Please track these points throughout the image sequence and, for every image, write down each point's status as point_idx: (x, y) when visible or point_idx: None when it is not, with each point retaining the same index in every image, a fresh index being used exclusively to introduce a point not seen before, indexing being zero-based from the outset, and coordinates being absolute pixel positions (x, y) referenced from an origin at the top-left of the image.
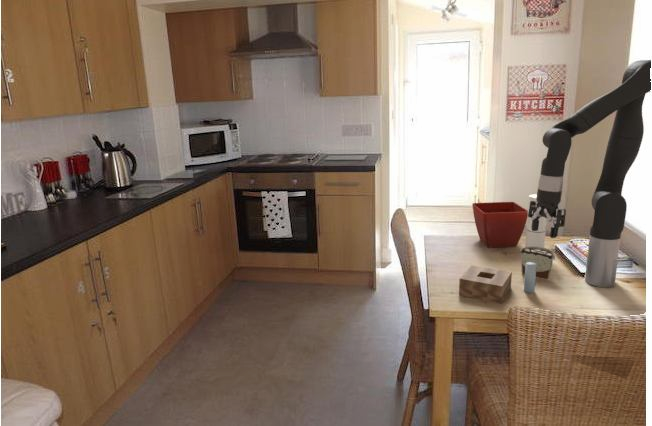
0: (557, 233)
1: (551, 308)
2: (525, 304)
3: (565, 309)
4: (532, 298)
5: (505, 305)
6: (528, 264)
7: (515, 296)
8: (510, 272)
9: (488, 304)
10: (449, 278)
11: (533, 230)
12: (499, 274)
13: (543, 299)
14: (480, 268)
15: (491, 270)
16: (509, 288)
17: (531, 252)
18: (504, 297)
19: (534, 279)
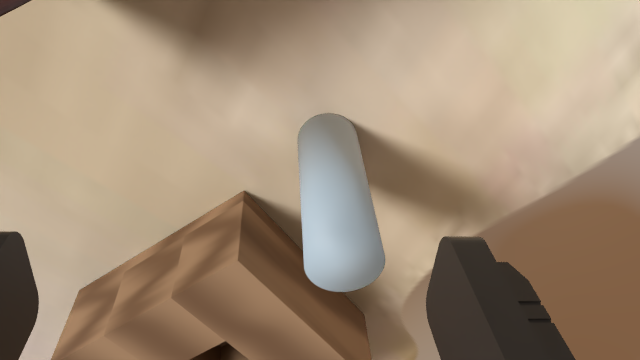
0: (540, 307)
1: (533, 187)
2: (431, 249)
3: (587, 142)
4: (404, 185)
5: (388, 312)
6: (343, 283)
7: None
8: (242, 272)
9: None
10: None
11: (37, 310)
12: (241, 329)
13: (446, 149)
14: (115, 356)
15: (167, 331)
16: (266, 221)
17: (24, 3)
18: None
19: (368, 185)
